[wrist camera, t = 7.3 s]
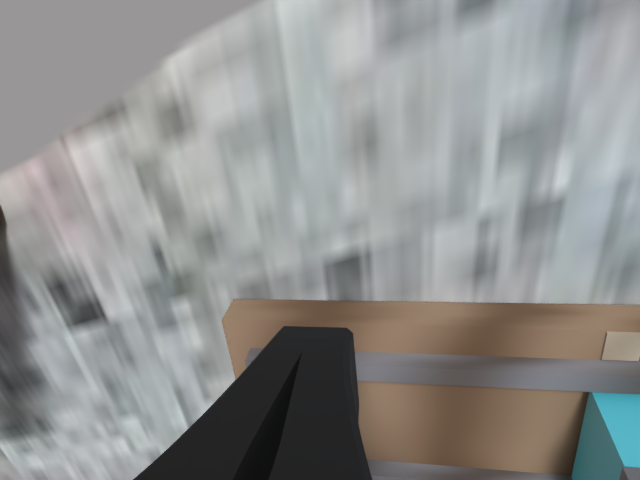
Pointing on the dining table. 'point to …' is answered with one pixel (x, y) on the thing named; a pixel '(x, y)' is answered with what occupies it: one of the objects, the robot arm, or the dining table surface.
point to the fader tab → (609, 438)
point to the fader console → (464, 378)
